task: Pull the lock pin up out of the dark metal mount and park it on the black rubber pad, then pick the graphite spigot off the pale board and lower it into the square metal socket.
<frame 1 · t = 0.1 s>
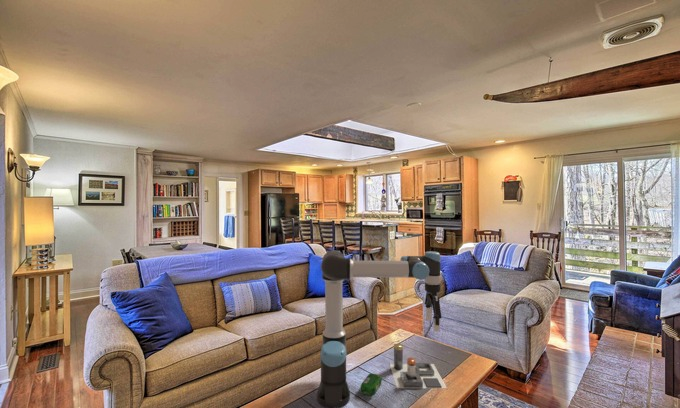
hand: (432, 325, 156), 28 cm above the table, fingers open, 13 cm apart
snack package: (371, 390, 149), on the table
pin pad: (432, 383, 153), resting on dock board
lock pin: (411, 370, 154), in the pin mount, point 6 cm above the table, touching dock board
spigot: (398, 367, 167), point 1 cm above the table, touching dock board
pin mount: (411, 379, 154), on the dock board, point 2 cm above the table
socket: (424, 370, 164), resting on dock board
dock board: (416, 376, 160), on the table
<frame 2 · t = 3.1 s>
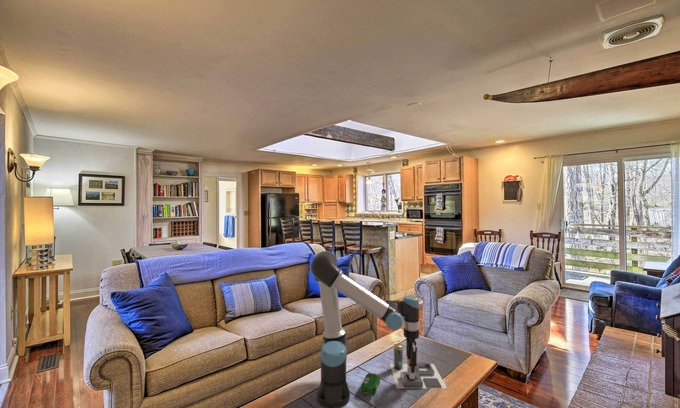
hand: (411, 375, 154), 4 cm above the table, fingers closed on lock pin, 4 cm apart
lock pin: (411, 370, 154), in the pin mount, point 6 cm above the table, touching dock board, gripper
when the fingers open (5 cm above the table, at t = 7.3 s): lock pin stays where it is, resting on pin pad.
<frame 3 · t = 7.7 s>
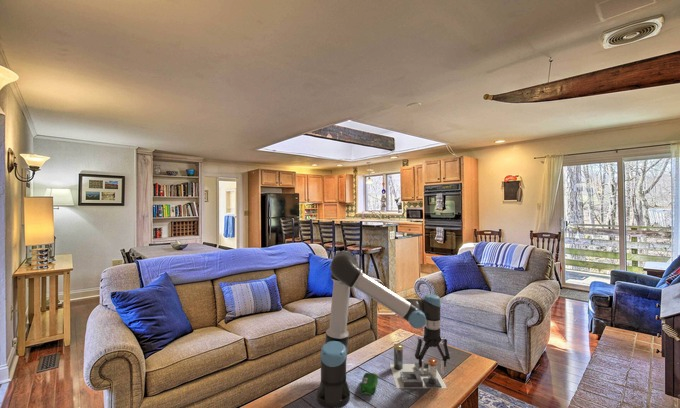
hand: (432, 372, 153), 6 cm above the table, fingers open, 9 cm apart
lock pin: (432, 371, 152), on the pin pad, point 7 cm above the table
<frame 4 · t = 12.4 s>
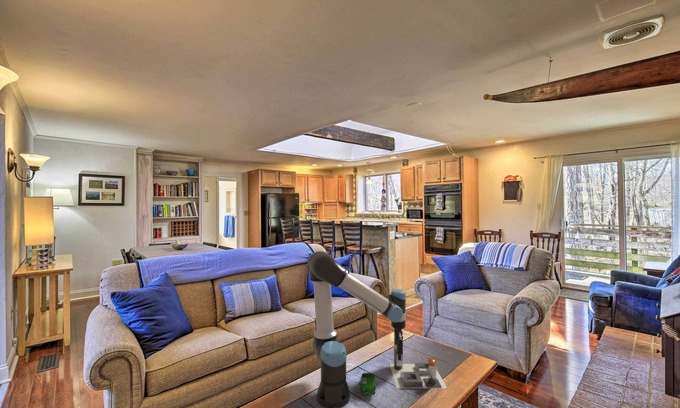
hand: (398, 362, 167), 3 cm above the table, fingers closed on spigot, 5 cm apart
spigot: (398, 367, 167), point 1 cm above the table, touching dock board, gripper
when the fingers open (5 cm above the table, at t = 17.6 s): spigot drops 1 cm, resting on dock board.
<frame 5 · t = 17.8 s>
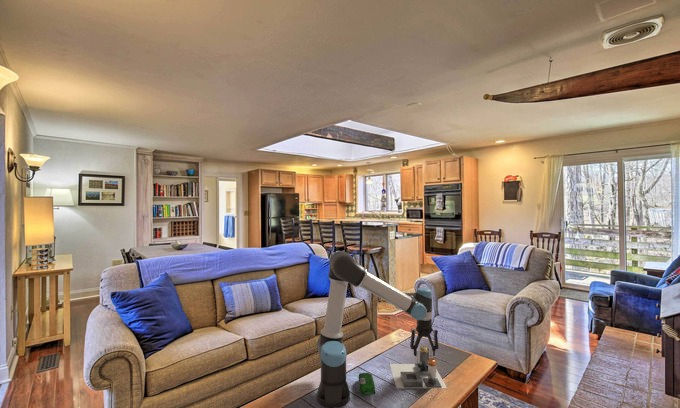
hand: (424, 361, 164), 6 cm above the table, fingers open, 7 cm apart
spigot: (423, 370, 164), point 1 cm above the table, touching dock board
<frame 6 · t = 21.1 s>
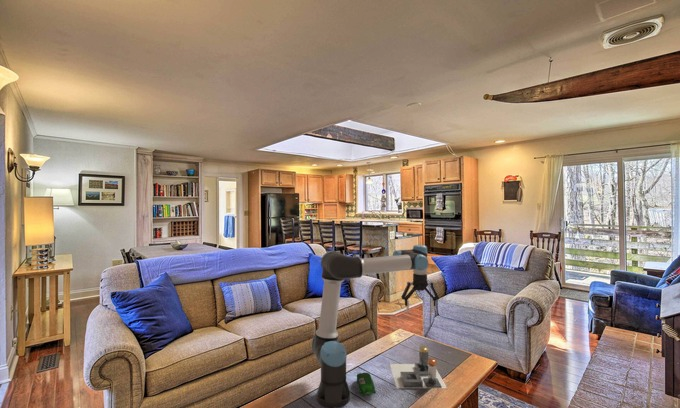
hand: (420, 311, 172), 29 cm above the table, fingers open, 13 cm apart
at the end: spigot 0.2 cm off-centre on the socket, point 0.0 cm above the socket's base; spigot tilted 0°; lock pin inside the target area on the pin pad (0.2 cm from its centre), point 6.0 cm above the pin pad's base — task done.
